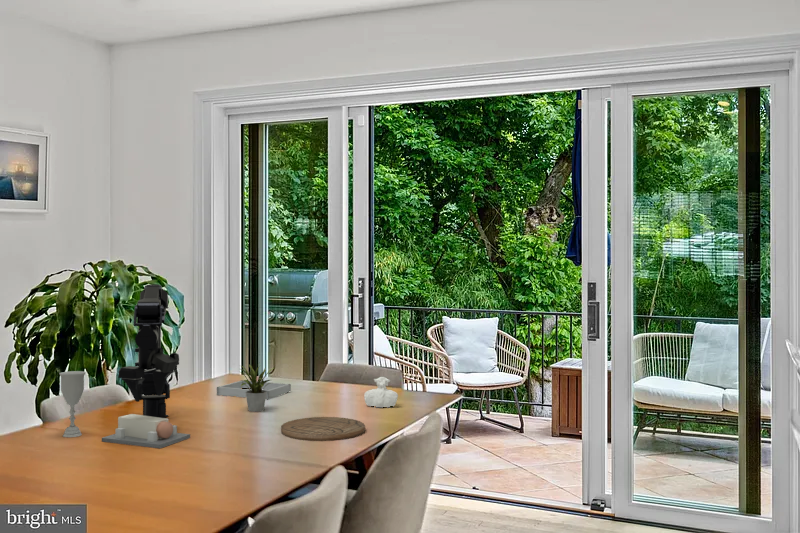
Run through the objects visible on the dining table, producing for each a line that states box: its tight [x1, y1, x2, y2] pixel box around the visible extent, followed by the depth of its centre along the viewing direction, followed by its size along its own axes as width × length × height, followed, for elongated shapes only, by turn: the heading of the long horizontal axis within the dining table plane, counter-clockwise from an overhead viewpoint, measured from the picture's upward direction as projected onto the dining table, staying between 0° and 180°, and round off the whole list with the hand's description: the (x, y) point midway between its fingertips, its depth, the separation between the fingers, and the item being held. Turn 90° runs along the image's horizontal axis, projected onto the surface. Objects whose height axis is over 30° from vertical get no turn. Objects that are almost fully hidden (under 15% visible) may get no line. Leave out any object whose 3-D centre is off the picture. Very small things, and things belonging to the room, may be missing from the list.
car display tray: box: [216, 380, 292, 400], centre depth 282 cm, size 22×17×3 cm
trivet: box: [280, 416, 366, 442], centre depth 222 cm, size 25×25×2 cm
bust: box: [363, 376, 399, 408], centre depth 260 cm, size 12×8×11 cm
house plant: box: [238, 363, 277, 413], centre depth 251 cm, size 14×14×16 cm
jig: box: [101, 424, 191, 449], centre depth 209 cm, size 20×13×4 cm, turn 69°
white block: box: [117, 413, 174, 440], centre depth 209 cm, size 16×5×5 cm, turn 64°
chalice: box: [58, 370, 87, 438], centre depth 214 cm, size 7×7×18 cm
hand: (148, 398), depth 214 cm, fingers open, 9 cm apart
